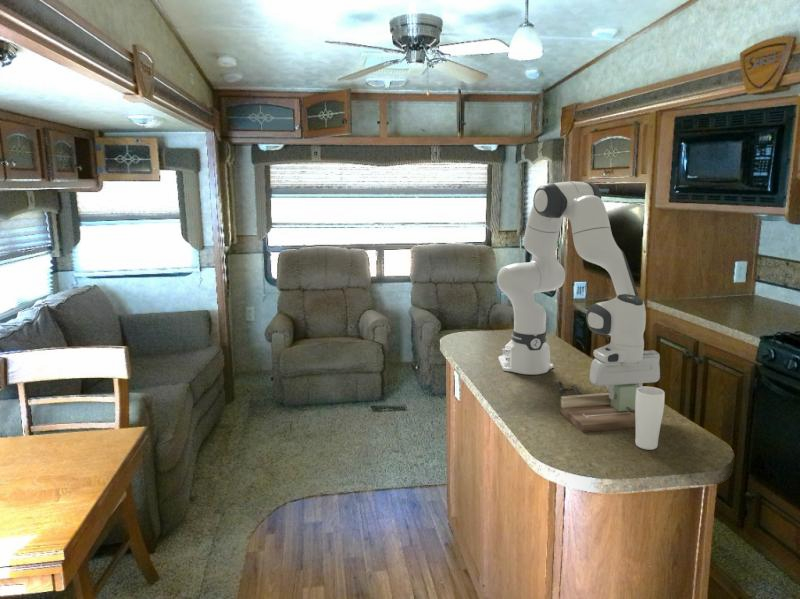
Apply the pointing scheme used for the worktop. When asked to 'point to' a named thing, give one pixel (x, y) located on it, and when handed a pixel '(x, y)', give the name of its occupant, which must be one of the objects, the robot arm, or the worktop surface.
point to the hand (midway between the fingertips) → (623, 397)
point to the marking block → (624, 397)
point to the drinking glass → (648, 416)
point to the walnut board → (595, 413)
